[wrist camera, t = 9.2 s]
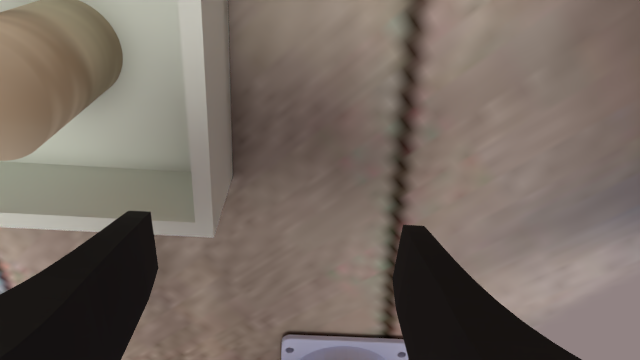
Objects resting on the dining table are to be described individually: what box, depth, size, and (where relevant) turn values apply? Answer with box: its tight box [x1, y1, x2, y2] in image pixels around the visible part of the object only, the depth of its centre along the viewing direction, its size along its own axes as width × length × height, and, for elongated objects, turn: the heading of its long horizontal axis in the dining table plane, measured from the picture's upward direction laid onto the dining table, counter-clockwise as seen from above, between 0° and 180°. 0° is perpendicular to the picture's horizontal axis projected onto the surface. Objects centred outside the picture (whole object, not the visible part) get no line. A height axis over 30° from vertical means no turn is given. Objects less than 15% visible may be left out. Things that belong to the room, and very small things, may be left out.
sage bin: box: [0, 0, 233, 238], centre depth 17 cm, size 12×12×5 cm
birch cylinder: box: [0, 0, 123, 161], centre depth 16 cm, size 4×4×6 cm
